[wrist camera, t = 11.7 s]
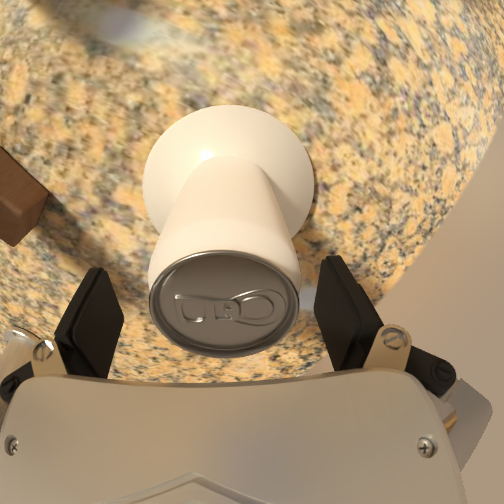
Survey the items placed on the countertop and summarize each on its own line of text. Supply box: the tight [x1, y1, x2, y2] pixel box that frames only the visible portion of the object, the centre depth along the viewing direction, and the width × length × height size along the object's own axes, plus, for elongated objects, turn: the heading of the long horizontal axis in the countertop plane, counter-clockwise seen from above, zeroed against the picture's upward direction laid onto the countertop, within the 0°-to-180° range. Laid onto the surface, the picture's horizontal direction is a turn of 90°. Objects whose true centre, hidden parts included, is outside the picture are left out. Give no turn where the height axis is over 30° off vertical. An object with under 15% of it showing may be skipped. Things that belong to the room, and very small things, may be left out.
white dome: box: [143, 105, 314, 239], centre depth 20 cm, size 13×13×1 cm
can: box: [148, 154, 301, 358], centre depth 15 cm, size 6×6×12 cm
